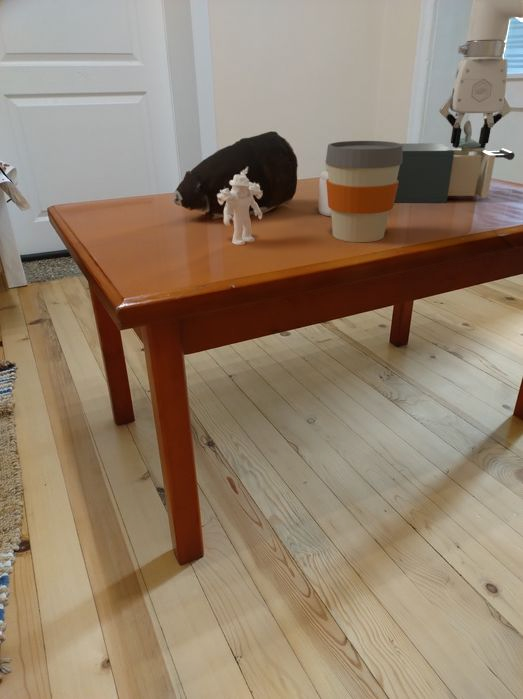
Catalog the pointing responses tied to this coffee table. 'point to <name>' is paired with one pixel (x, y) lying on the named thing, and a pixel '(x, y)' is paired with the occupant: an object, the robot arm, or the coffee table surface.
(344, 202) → the reusable coffee cup
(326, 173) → the eye dropper bottle
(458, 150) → the drawer
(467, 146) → the pacifier
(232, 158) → the dark brown rounded shape
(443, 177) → the cabinet
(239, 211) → the flower shoulder figurine
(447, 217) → the coffee table surface
